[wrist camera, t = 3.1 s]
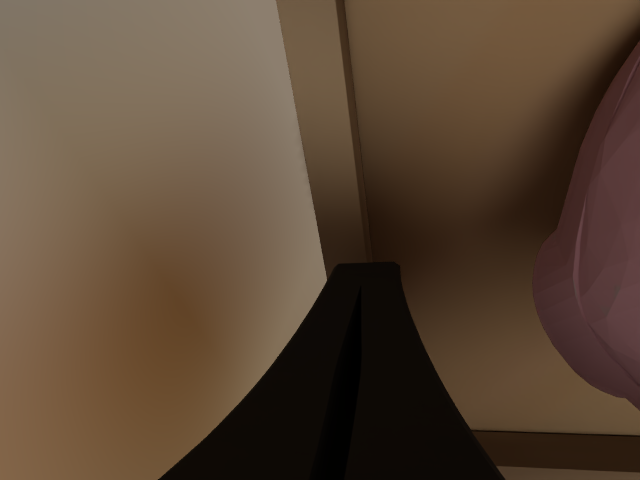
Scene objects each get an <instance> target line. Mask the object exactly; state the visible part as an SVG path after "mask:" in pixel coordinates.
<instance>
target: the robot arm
mask: <svg viewBox="0 0 640 480" xmlns="http://www.w3.org/2000/svg"><path fill="white" fill-rule="evenodd" d="M158 480H506V479H505V478H504V477H503V475H502V474H501V472H500V471H499V470H498V468H497V467H496V465H495V464H494V463H493V461H492V460H491V458H490V457H489V455H488V454H487V453H486V451H485V450H484V448H483V447H482V446H481V444H480V443H479V441H478V440H477V438H476V437H475V436H474V434H473V433H472V431H471V430H470V428H469V426H468V425H467V423H466V422H465V420H464V418H463V417H462V415H461V414H460V412H459V411H458V409H457V407H456V406H455V404H454V402H453V401H452V399H451V397H450V395H449V394H448V392H447V390H446V389H445V387H444V385H443V383H442V381H441V379H440V378H439V376H438V374H437V372H436V370H435V368H434V366H433V364H432V362H431V360H430V358H429V356H428V354H427V352H426V350H425V348H424V345H423V343H422V341H421V339H420V336H419V334H418V331H417V329H416V327H415V324H414V322H413V319H412V317H411V314H410V311H409V308H408V305H407V302H406V299H405V296H404V292H403V288H402V284H401V276H400V266H399V265H398V264H397V263H395V262H369V263H340V264H337V265H336V266H335V267H334V268H333V270H332V272H331V274H330V276H329V278H328V280H327V282H326V284H325V286H324V288H323V289H322V291H321V293H320V295H319V296H318V298H317V300H316V301H315V303H314V305H313V307H312V308H311V310H310V311H309V313H308V314H307V316H306V317H305V319H304V320H303V322H302V323H301V325H300V326H299V328H298V329H297V331H296V333H295V334H294V335H293V337H292V338H291V340H290V341H289V342H288V344H287V345H286V346H285V348H284V349H283V350H282V352H281V353H280V355H279V356H278V357H277V359H276V360H275V361H274V363H273V364H272V365H271V367H270V368H269V369H268V370H267V372H266V373H265V374H264V375H263V376H262V378H261V379H260V380H259V381H258V382H257V384H256V385H255V386H254V387H253V388H252V389H251V391H250V392H249V393H248V394H247V395H246V396H245V397H244V399H243V400H242V401H241V402H240V403H239V404H238V405H237V406H236V407H235V408H234V409H233V410H232V411H231V412H230V413H229V414H228V416H226V418H225V419H224V420H223V421H222V422H221V423H220V424H219V425H218V426H217V427H216V428H215V429H214V430H213V431H212V432H211V433H210V434H209V435H208V436H207V437H206V438H205V439H203V441H201V442H200V443H199V444H198V445H197V446H196V447H195V448H194V449H192V450H191V451H190V452H189V453H188V454H187V455H186V456H185V457H183V458H182V459H181V460H180V461H179V462H178V463H177V464H175V465H174V466H173V467H172V468H171V469H170V470H169V471H167V472H166V473H165V474H164V475H163V476H162V477H161V478H160V479H158Z"/></svg>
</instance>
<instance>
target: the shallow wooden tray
mask: <svg viewBox="0 0 640 480" xmlns="http://www.w3.org/2000/svg"><path fill="white" fill-rule="evenodd" d="M276 2H277V8H278V13H279V19H280V23H281V30H282V35H283V40H284V46H285V51H286V57H287V62H288V67H289V73H290V78H291V84H292V90H293V95H294V101H295V106H296V112H297V117H298V123H299V128H300V133H301V139H302V144H303V150H304V155H305V161H306V166H307V172H308V177H309V183H310V188H311V194H312V199H313V204H314V210H315V215H316V221H317V226H318V232H319V237H320V243H321V248H322V254H323V259H324V265H325V270H326V275H327V280H328V278H329V276H330V274H331V272H332V270H333V268H334V267H335V266H336V265H337V264H340V263H369V262H373V258H372V249H371V240H370V231H369V222H368V213H367V204H366V195H365V186H364V177H363V168H362V159H361V150H360V141H359V132H358V123H357V114H356V105H355V96H354V87H353V78H352V69H351V60H350V51H349V42H348V33H347V24H346V15H345V6H344V0H276ZM472 433H473V434H474V436H475V437H476V438H477V440H478V441H479V443H480V444H481V446H482V447H483V448H484V450H485V451H486V453H487V454H488V455H489V457H490V458H491V460H492V461H493V463H494V464H495V465H496V467H497V468H498V470H499V471H500V472H501V474H502V475H503V477H504V478H505V479H506V480H640V437H630V436H600V435H570V434H540V433H510V432H480V431H472Z"/></svg>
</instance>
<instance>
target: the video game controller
mask: <svg viewBox="0 0 640 480" xmlns="http://www.w3.org/2000/svg"><path fill="white" fill-rule="evenodd" d="M532 284H533V297H534V301H535V305H536V309H537V313H538V316H539V318H540V321H541V323H542V326H543V328H544V330H545V331H546V333H547V335H548V337H549V338H550V340H551V342H552V344H553V345H554V347H555V348H556V349H557V350H558V352H559V353H560V354H561V355H562V357H563V358H564V359H565V361H566V362H567V363H568V364H569V365H570V367H571V368H572V369H573V370H574V371H575V372H576V373H577V374H578V375H579V376H580V377H582V378H583V379H584V380H585V381H586V382H588V383H589V384H590V385H592V386H594V387H595V388H597V389H599V390H601V391H603V392H605V393H608V394H611V395H613V396H616V397H620V398H626V399H627V400H629V401H630V402H631V403H632V404H633V405H634V406H635V407H636V408H638V409H639V410H640V40H639V42H638V43H637V45H636V46H635V48H634V49H633V51H632V52H631V54H630V55H629V57H628V58H627V60H626V61H625V62H624V64H623V65H622V67H621V68H620V70H619V71H618V73H617V74H616V76H615V77H614V79H613V80H612V82H611V84H610V86H609V88H608V89H607V91H606V93H605V95H604V97H603V99H602V100H601V102H600V104H599V106H598V108H597V109H596V111H595V114H594V116H593V118H592V121H591V123H590V126H589V128H588V130H587V133H586V135H585V138H584V140H583V142H582V145H581V148H580V151H579V154H578V157H577V160H576V164H575V167H574V171H573V174H572V178H571V181H570V185H569V188H568V192H567V195H566V199H565V202H564V206H563V209H562V213H561V216H560V220H559V223H558V227H557V229H556V230H555V231H554V232H553V233H551V234H550V236H549V237H548V238H547V239H546V240H545V241H544V242H543V244H542V246H541V248H540V250H539V252H538V254H537V257H536V261H535V266H534V273H533V282H532Z"/></svg>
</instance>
